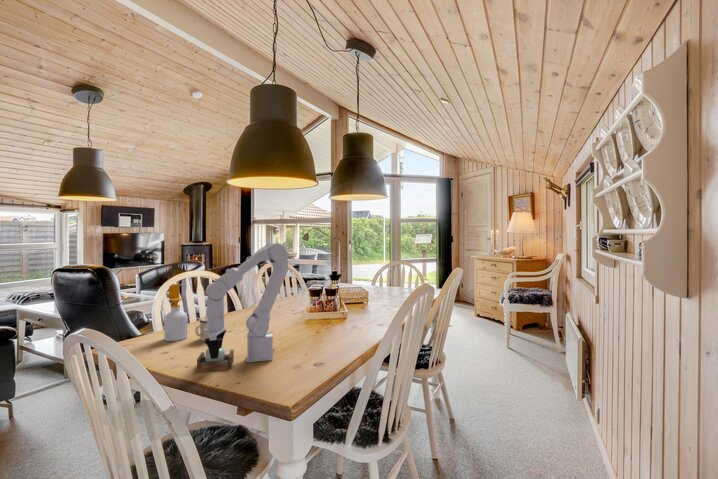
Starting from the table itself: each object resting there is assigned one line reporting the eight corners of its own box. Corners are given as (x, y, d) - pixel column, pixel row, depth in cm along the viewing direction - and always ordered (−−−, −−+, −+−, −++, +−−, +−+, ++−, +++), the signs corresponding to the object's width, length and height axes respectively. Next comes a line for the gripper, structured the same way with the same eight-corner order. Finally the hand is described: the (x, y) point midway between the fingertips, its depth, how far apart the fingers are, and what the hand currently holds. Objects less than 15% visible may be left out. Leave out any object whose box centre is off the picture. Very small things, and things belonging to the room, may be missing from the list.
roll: (225, 359, 125) (225, 345, 125) (224, 364, 121) (223, 351, 120) (207, 360, 124) (207, 347, 123) (205, 366, 119) (204, 352, 119)
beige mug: (212, 334, 160) (212, 309, 160) (226, 337, 156) (225, 311, 156) (189, 341, 150) (188, 314, 150) (202, 344, 145) (202, 317, 145)
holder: (233, 360, 127) (233, 349, 127) (231, 368, 120) (231, 357, 120) (201, 363, 124) (201, 352, 124) (197, 371, 117) (196, 360, 117)
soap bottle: (167, 343, 148) (166, 286, 147) (162, 338, 155) (162, 283, 154) (189, 338, 154) (189, 284, 153) (184, 334, 160) (183, 281, 160)
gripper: (207, 312, 128) (207, 348, 128) (199, 322, 114) (199, 363, 114) (227, 311, 130) (227, 347, 130) (222, 320, 116) (222, 361, 116)
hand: (216, 354), depth 122 cm, fingers open, 7 cm apart
